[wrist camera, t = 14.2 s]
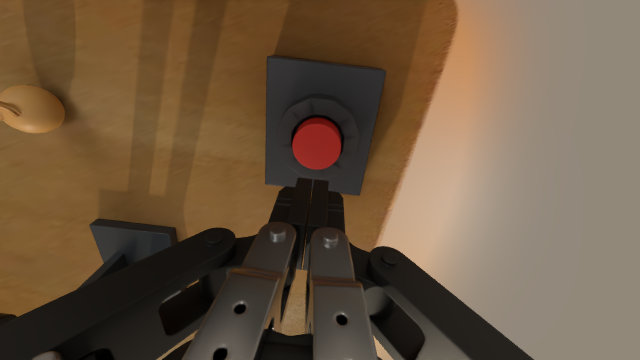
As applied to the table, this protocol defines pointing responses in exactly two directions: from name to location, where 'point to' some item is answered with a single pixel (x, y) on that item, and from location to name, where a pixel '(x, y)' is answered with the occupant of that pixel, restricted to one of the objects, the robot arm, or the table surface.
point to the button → (317, 143)
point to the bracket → (127, 245)
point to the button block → (320, 102)
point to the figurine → (31, 109)
